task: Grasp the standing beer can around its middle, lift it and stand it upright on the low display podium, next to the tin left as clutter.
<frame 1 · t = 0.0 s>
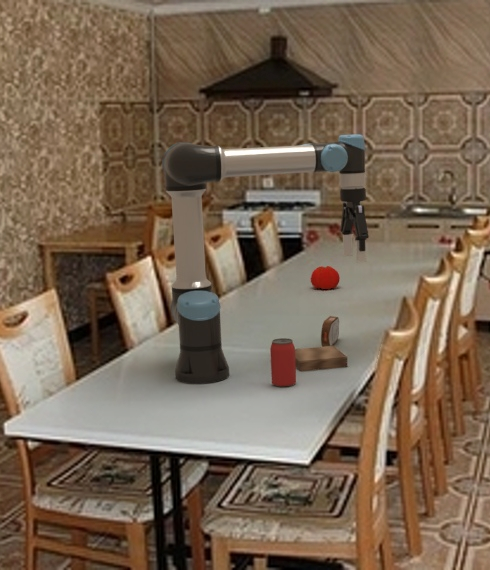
hand: (354, 259, 284), 28 cm above the table, tool pointing down, fingers open, 13 cm apart
tin: (330, 345, 299), on the table
tomato: (325, 289, 394), on the table
podium: (317, 363, 277), on the table
beer can: (284, 384, 257), on the table
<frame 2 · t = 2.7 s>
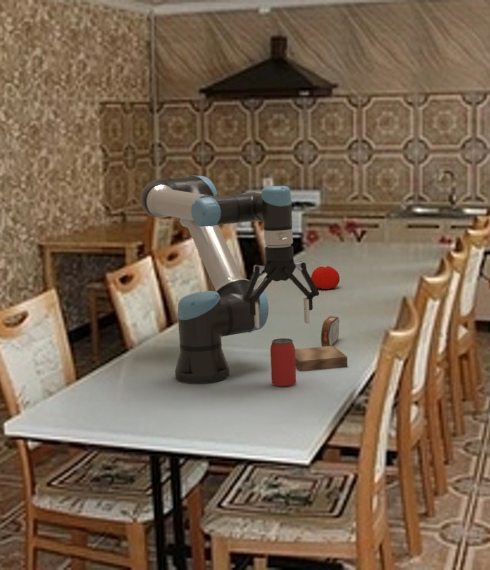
hand: (282, 324, 254), 16 cm above the table, tool pointing down, fingers open, 13 cm apart
nothing on the table moved.
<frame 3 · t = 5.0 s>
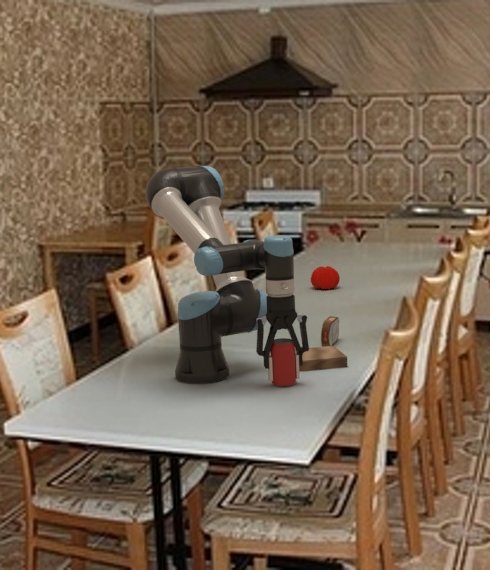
hand: (283, 378, 256), 2 cm above the table, tool pointing down, fingers closed on beer can, 7 cm apart
beer can: (284, 384, 257), on the table, touching gripper
everything else where it was.
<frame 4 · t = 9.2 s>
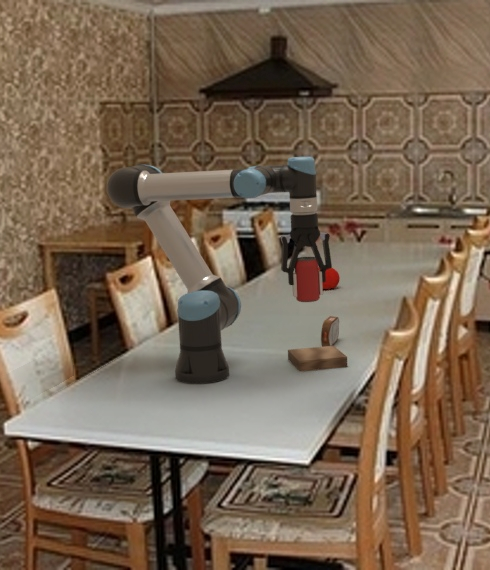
hand: (307, 295, 267), 21 cm above the table, tool pointing down, fingers closed on beer can, 7 cm apart
beer can: (308, 301, 268), point 20 cm above the table, touching gripper
everything else where it was.
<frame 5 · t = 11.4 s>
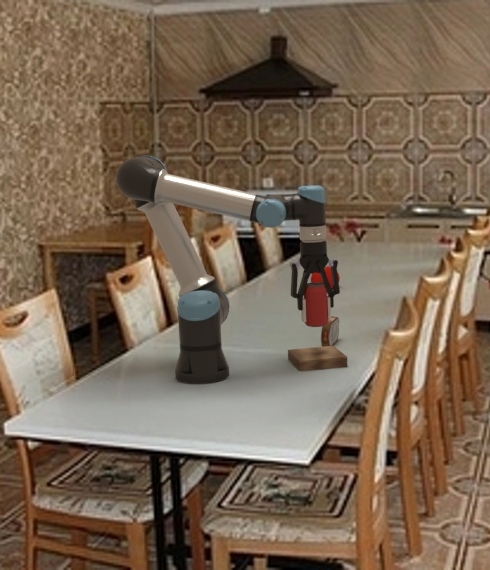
hand: (316, 319, 274), 13 cm above the table, tool pointing down, fingers closed on beer can, 7 cm apart
beer can: (316, 325, 275), point 11 cm above the table, touching gripper
everything else where it was.
when the fingers open (6 cm above the table, at t = 13.4 s): beer can drops 1 cm, resting on podium.
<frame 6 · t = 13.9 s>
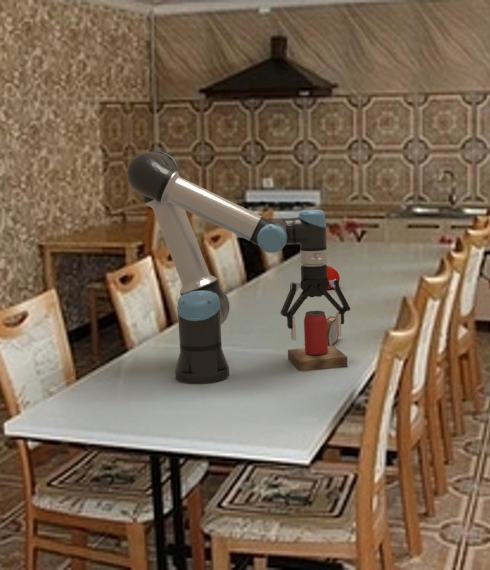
hand: (316, 337, 275), 8 cm above the table, tool pointing down, fingers open, 13 cm apart
beer can: (316, 353, 276), point 3 cm above the table, touching podium
everything else where it was.
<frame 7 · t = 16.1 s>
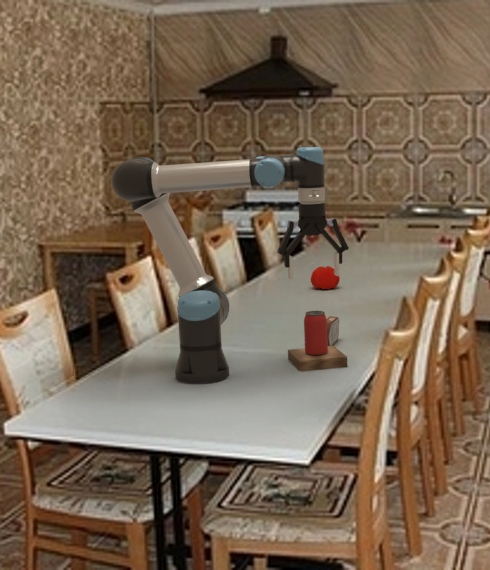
hand: (313, 277, 272), 25 cm above the table, tool pointing down, fingers open, 13 cm apart
nothing on the table moved.
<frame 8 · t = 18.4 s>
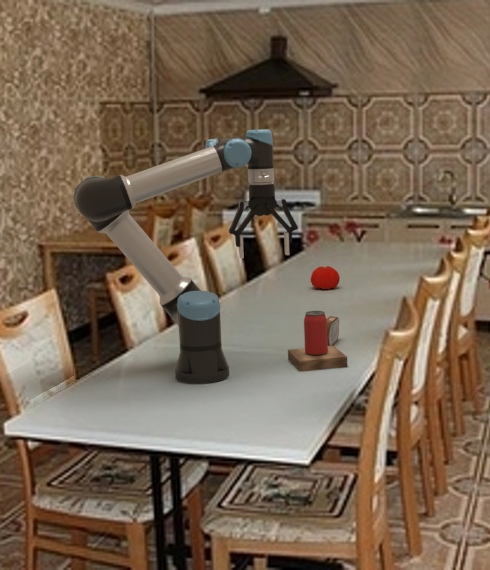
hand: (264, 256, 280), 31 cm above the table, tool pointing down, fingers open, 13 cm apart
nothing on the table moved.
at the end: beer can inside the target area on the podium (0.1 cm from its centre), point 2.8 cm above the podium's base; beer can tilted 0°; the gripper is holding nothing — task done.
